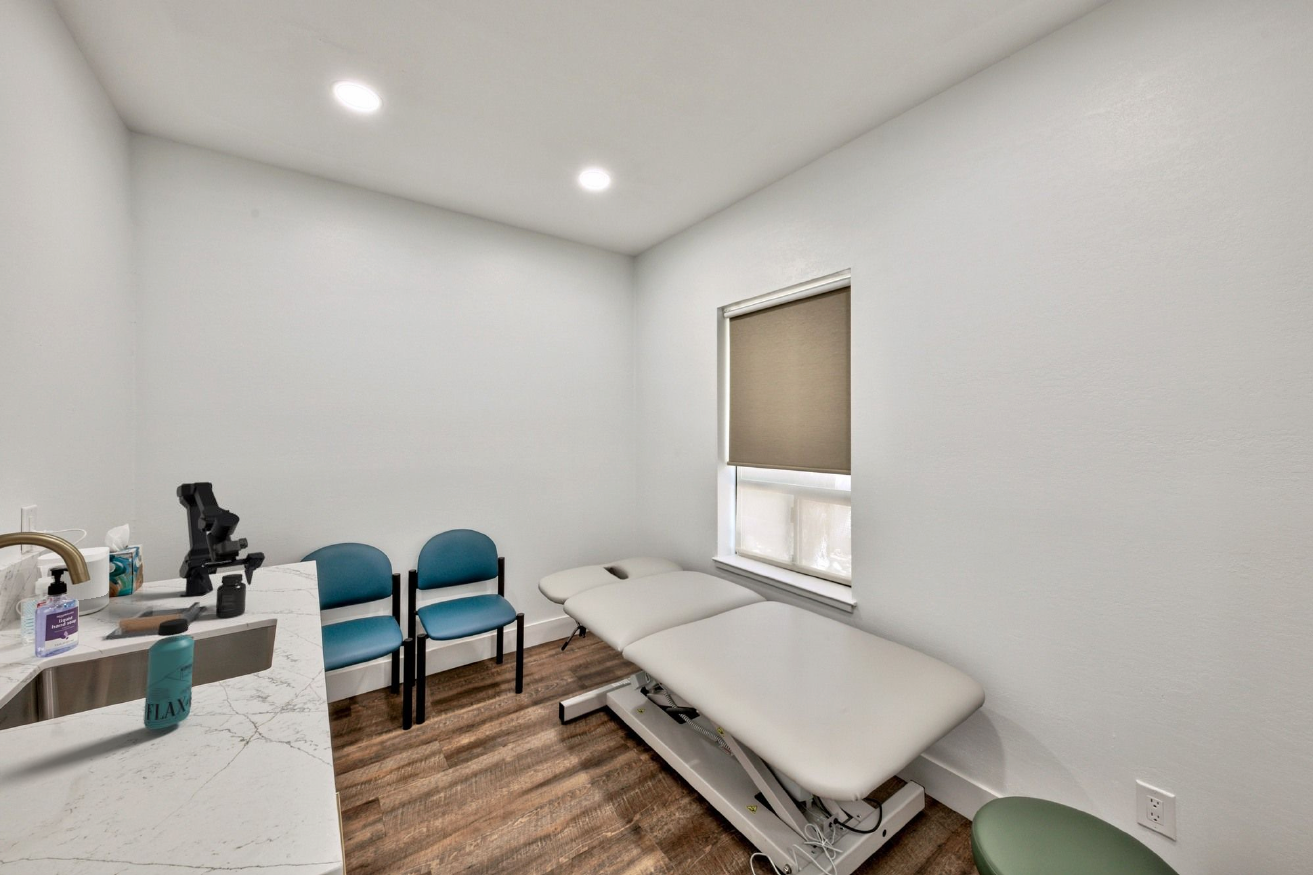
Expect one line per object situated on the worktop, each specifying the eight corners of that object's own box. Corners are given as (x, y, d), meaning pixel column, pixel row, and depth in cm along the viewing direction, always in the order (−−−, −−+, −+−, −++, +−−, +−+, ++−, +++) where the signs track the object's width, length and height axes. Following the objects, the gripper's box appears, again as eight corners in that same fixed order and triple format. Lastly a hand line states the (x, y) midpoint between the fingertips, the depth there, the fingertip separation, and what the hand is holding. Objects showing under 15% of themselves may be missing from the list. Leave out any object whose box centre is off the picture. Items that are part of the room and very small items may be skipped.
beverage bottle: (135, 741, 89) (141, 629, 89) (151, 722, 95) (157, 617, 95) (183, 732, 92) (189, 624, 92) (196, 714, 98) (202, 613, 98)
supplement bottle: (250, 612, 154) (253, 573, 154) (229, 619, 147) (232, 579, 148) (230, 610, 155) (232, 571, 155) (209, 617, 148) (211, 577, 148)
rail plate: (140, 615, 148) (140, 601, 148) (205, 609, 155) (206, 596, 155) (106, 639, 130) (107, 624, 130) (182, 631, 137) (183, 617, 137)
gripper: (188, 534, 147) (198, 577, 141) (264, 527, 163) (276, 566, 156) (178, 556, 151) (187, 600, 145) (253, 547, 167) (265, 586, 161)
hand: (231, 587), depth 152 cm, fingers open, 9 cm apart
